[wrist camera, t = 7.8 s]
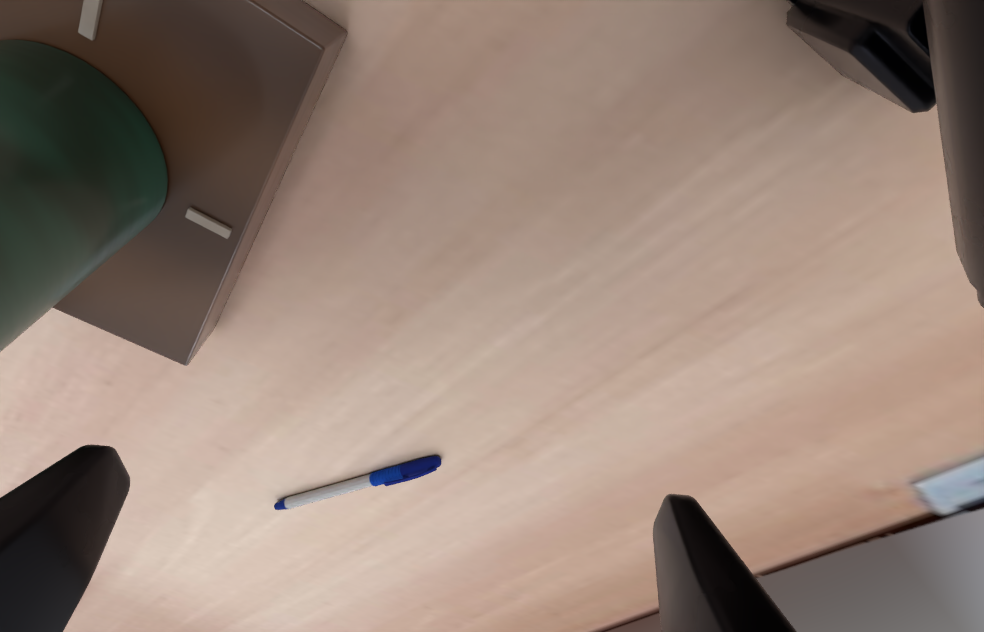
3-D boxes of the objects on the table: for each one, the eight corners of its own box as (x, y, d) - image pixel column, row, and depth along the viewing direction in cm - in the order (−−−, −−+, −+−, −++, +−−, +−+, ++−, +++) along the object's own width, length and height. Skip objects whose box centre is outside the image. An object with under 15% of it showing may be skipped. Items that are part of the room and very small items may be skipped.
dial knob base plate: (-61, -245, 14) (-168, -273, 12) (348, 31, 17) (323, 49, 15) (-74, 194, 21) (-142, 227, 19) (214, 328, 24) (184, 370, 22)
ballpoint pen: (435, 448, 28) (433, 464, 28) (444, 458, 29) (442, 474, 28) (275, 497, 32) (269, 513, 31) (285, 506, 32) (279, 522, 31)
